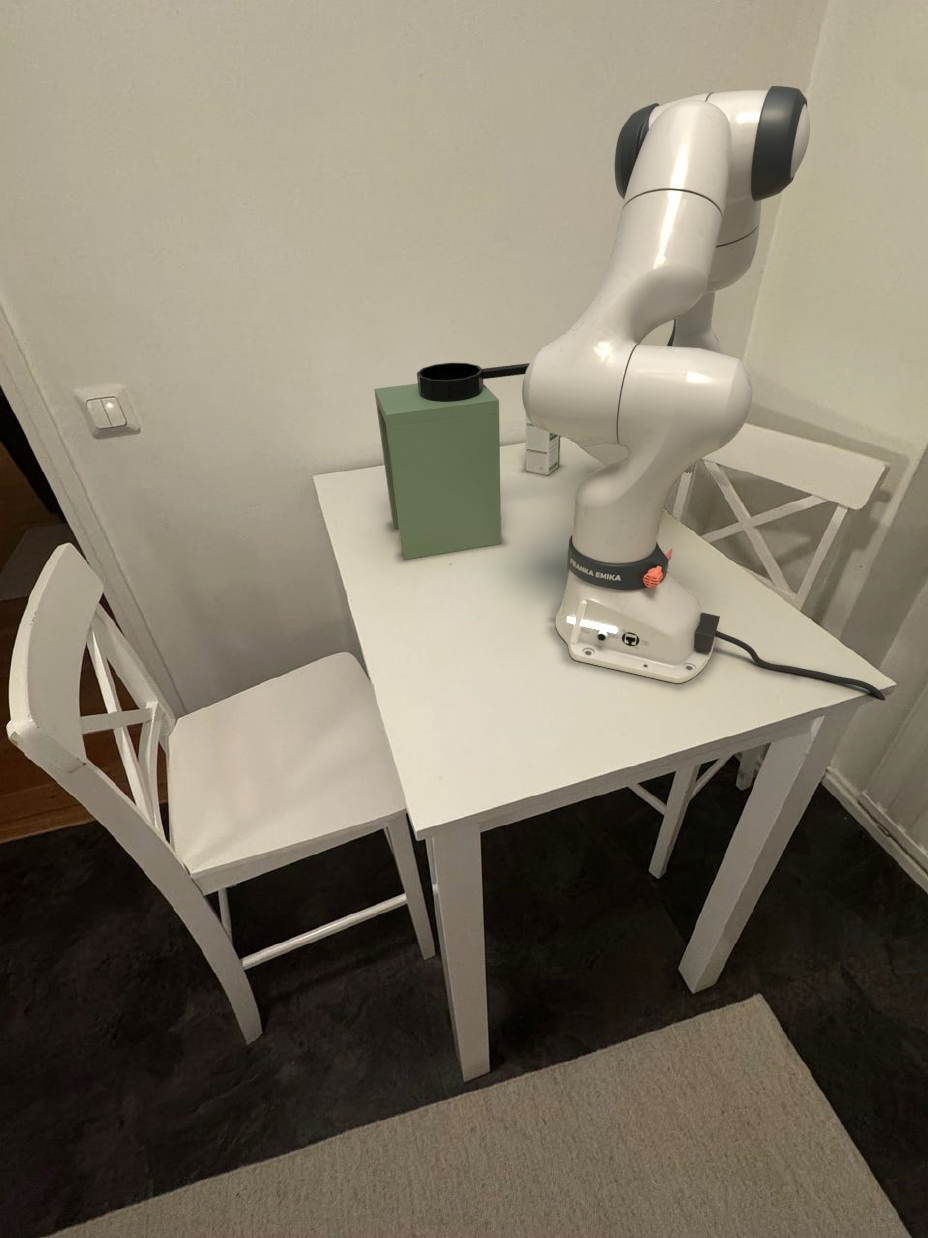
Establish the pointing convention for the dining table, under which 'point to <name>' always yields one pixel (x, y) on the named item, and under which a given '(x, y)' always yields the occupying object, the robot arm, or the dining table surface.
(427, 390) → the pan
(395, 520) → the green hollow pedestal
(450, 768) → the dining table surface
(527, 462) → the syrup box
